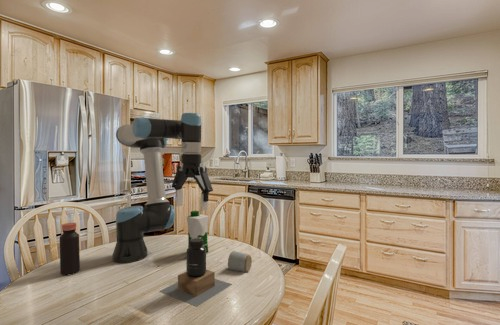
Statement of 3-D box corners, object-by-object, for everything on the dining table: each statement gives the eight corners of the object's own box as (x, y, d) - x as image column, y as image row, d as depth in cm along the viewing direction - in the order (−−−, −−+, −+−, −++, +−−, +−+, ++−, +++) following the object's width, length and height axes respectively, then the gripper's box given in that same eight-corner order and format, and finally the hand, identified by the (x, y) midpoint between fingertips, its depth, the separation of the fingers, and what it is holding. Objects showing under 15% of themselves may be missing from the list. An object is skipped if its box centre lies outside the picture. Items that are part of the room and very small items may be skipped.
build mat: (159, 294, 97) (158, 291, 97) (196, 275, 112) (196, 272, 112) (196, 309, 87) (196, 306, 87) (232, 286, 102) (232, 284, 102)
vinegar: (56, 273, 115) (55, 224, 114) (73, 267, 121) (72, 221, 120) (66, 277, 112) (65, 226, 111) (83, 270, 118) (82, 223, 117)
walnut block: (177, 289, 98) (177, 275, 98) (196, 279, 106) (196, 266, 106) (196, 296, 93) (196, 281, 93) (214, 285, 101) (214, 272, 101)
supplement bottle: (189, 279, 95) (189, 244, 95) (184, 272, 101) (183, 238, 101) (209, 275, 98) (208, 241, 98) (202, 268, 104) (202, 236, 104)
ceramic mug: (246, 276, 111) (246, 256, 111) (227, 272, 114) (227, 254, 114) (255, 266, 121) (255, 248, 121) (237, 264, 124) (237, 246, 124)
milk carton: (198, 248, 145) (198, 209, 144) (211, 251, 139) (210, 211, 139) (185, 253, 138) (184, 212, 137) (198, 257, 132) (197, 214, 132)
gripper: (162, 153, 113) (162, 205, 115) (208, 154, 99) (208, 214, 100) (177, 152, 120) (177, 202, 121) (222, 154, 105) (222, 210, 106)
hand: (191, 207), depth 110 cm, fingers open, 13 cm apart
